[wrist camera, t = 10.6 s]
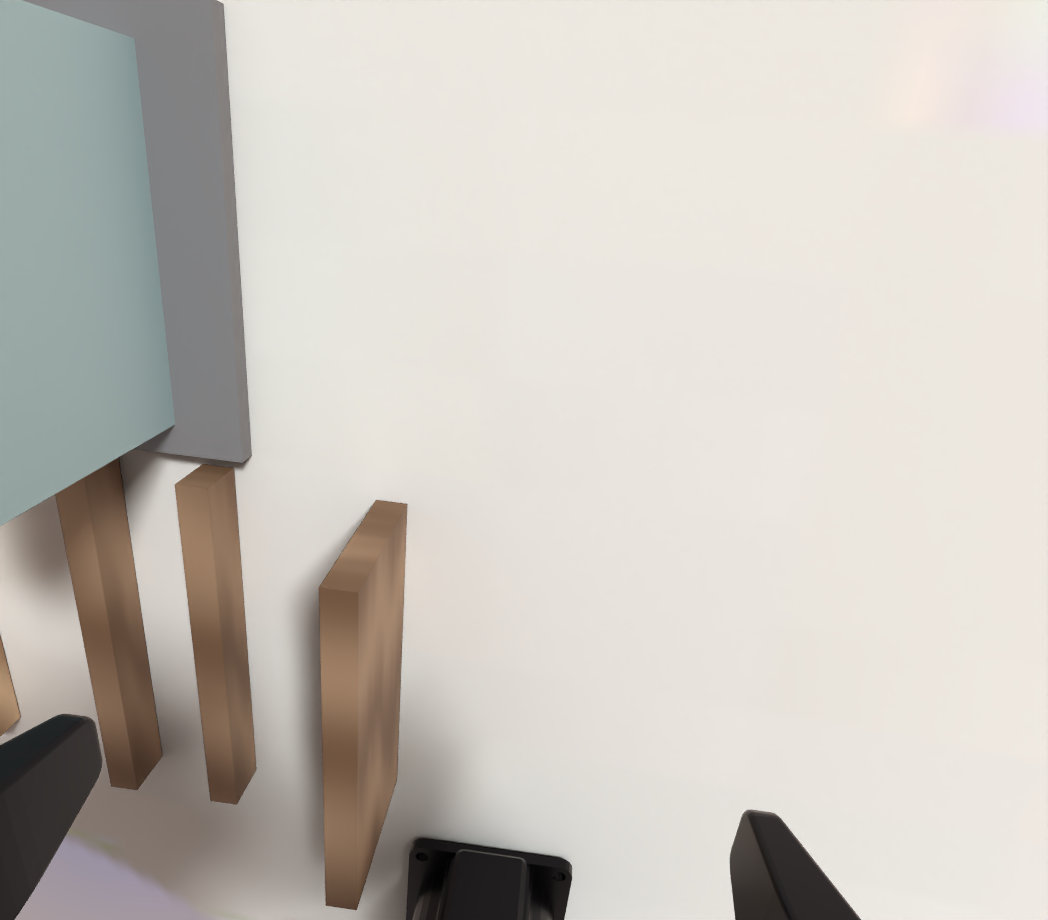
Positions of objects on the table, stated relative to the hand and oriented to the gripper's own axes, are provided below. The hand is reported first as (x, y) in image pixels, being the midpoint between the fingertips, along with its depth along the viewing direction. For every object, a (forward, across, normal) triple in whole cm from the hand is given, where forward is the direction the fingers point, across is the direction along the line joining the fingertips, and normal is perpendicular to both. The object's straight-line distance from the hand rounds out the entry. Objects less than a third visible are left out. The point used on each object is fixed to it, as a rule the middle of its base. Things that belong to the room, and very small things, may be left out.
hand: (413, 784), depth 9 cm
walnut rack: (+12, +8, +8) cm, 17 cm away
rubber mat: (+12, +11, -5) cm, 17 cm away
